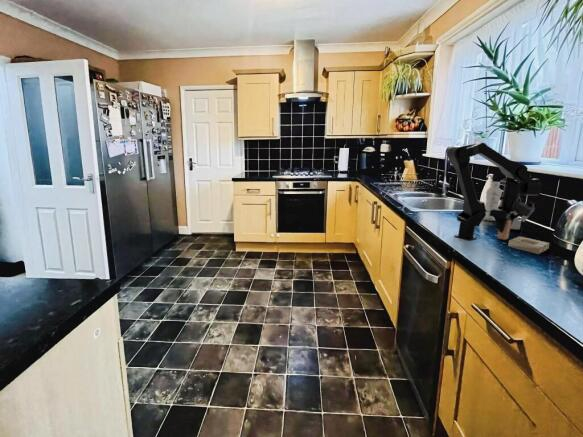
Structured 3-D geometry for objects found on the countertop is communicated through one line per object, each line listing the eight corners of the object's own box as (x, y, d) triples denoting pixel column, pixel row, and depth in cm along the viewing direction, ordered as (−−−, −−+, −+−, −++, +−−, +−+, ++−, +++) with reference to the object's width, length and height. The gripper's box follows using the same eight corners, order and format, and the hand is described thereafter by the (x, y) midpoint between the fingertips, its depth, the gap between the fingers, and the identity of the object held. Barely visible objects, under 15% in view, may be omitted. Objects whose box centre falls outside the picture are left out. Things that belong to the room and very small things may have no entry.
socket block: (538, 254, 117) (539, 247, 116) (507, 246, 125) (509, 240, 124) (548, 249, 123) (549, 243, 122) (518, 242, 130) (519, 236, 130)
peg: (504, 239, 133) (508, 221, 131) (497, 237, 136) (500, 219, 134) (508, 238, 135) (511, 220, 133) (500, 236, 137) (503, 218, 135)
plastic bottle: (481, 218, 170) (488, 180, 165) (496, 220, 166) (504, 182, 161) (480, 220, 164) (487, 182, 160) (495, 222, 161) (503, 183, 156)
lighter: (509, 228, 150) (513, 212, 148) (508, 227, 152) (511, 211, 150) (526, 230, 149) (530, 213, 147) (524, 229, 151) (528, 212, 149)
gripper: (524, 200, 119) (516, 240, 123) (543, 196, 129) (534, 232, 133) (492, 195, 128) (485, 232, 132) (512, 192, 138) (505, 226, 142)
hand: (503, 231), depth 134 cm, fingers open, 5 cm apart
